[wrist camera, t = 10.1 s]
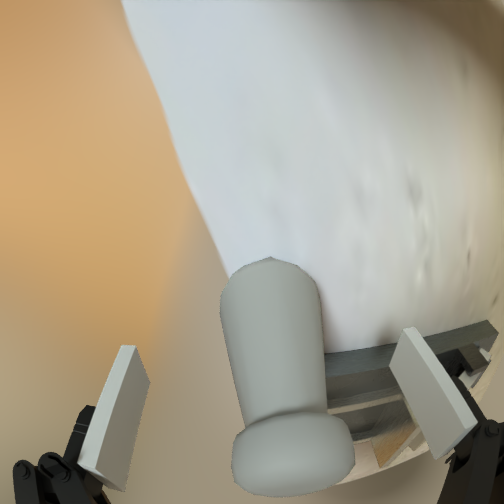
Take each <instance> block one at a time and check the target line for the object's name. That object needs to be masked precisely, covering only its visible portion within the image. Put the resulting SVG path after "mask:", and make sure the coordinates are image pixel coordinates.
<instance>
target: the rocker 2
mask: <svg viewBox="0 0 504 504" xmlns="http://www.w3.org/2000/svg"><path fill="white" fill-rule="evenodd" d="M480 352H481V353H482V355H483V356H484V357H485V359H486V360H487V361H488V363H490V362H491V360H490V357H491V356H492V355H491V354H489V353H488V352H487V351H485V350H484V349H482V348H481V349H480ZM484 371H485V370H484ZM484 371H482V372H480V373H478V374H475V375H473V376H471V377H470V376H469V374H468V373H467V371H466V370H464V372H463V373H462V374H461V375H460V377H459V379H460V380H461V381H462V382H463V383H464V385H465V386H466V388H467V391H468V390H469V389H470V388H473V387H474V386H475V385H476V383H477V382H478V380H479V379H480V377H481V376H482V374H483V373H484Z"/></svg>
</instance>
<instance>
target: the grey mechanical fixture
mask: <svg viewBox="0 0 504 504" xmlns="http://www.w3.org/2000/svg"><path fill="white" fill-rule="evenodd" d="M498 334H499V333H498V331H497V330H496V329H495V328H494V327H493V326H492V325H491V324H490V323H489V321H488V320H485V321H482V322H479V323H476V324H472V325H469V326H465V327H462V328H458V329H455V330H451V331H447V332H443V333H439V334H435V335H431V336H427V337H423V339H424V340H425V342H426V343H427V345H428V346H429V347H430V349H431V350H432V352H433V353H434V354H435V356H436V357H437V359H438V360H439V362H440V363H441V365H442V366H443V368H444V369H445V371H446V372H447V373H448V375H449V377H452V376H456V377H457V378H459V377H460V375H461V374H462V373H463V372H464V370H466V371H467V373H468V374H469V376H470V377H471V376H473V375H475V374H478V373H480V372H482V371H484V370H486V368H487V367H488V365H489V363H488V361H487V360H486V359H485V357H484V356H483V355H482V353H481V352H480V349H481V348H482V349H484V350H485V351H487V352H489V350H490V349H491V347H492V345H493V343H494V341H495V340H496V338H497V336H498ZM397 344H398V343H394V344H389V345H383V346H378V347H372V348H366V349H359V350H353V351H346V352H338V353H330V354H324V361H325V381H326V395H327V412H328V414H330V415H333V416H335V417H338V418H340V419H342V420H343V421H344V422H345V423H346V425H347V426H348V429H349V431H350V434H351V437H352V440H353V444H354V445H355V444H359V443H363V442H367V441H371V442H372V445H373V448H374V452H375V455H376V458H377V461H378V464H379V467H380V468H383V467H386V466H388V465H389V464H390V463H391V462H392V461H393V460H394V459H395V458H396V457H397V456H398V455H399V454H400V453H401V452H402V451H403V450H404V449H405V448H406V447H407V446H408V445H409V444H410V442H411V441H412V440H413V439H414V438H415V437H416V436H417V434H418V433H419V432H420V431H421V428H420V426H419V424H418V422H417V420H416V418H415V416H414V414H413V412H412V410H411V408H410V406H409V404H408V402H407V400H406V398H405V396H404V394H403V392H402V390H401V388H400V386H399V384H398V382H397V380H396V378H395V376H394V375H393V373H392V371H391V369H390V367H389V364H390V362H391V359H392V357H393V354H394V352H395V349H396V346H397Z"/></svg>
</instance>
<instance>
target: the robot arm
mask: <svg viewBox="0 0 504 504" xmlns="http://www.w3.org/2000/svg"><path fill="white" fill-rule="evenodd" d="M389 367H390V369H391V371H392V373H393V375H394V376H395V378H396V380H397V382H398V384H399V386H400V388H401V390H402V392H403V394H404V396H405V398H406V400H407V402H408V404H409V406H410V408H411V410H412V412H413V414H414V416H415V418H416V420H417V422H418V424H419V426H420V428H421V431H422V433H423V435H424V437H425V439H426V441H427V444H428V446H429V448H430V450H431V452H432V455H433V457H434V459H435V460H436V459H438V458H440V457H442V456H444V455H446V454H448V453H449V452H450V451H451V450H452V449H453V448H454V450H455V452H454V453H453V454H452V455H451V456H450V457H449V458H448V459H447V460H446V462H445V463H448V462H449V461H450V460H451V459H452V460H451V462H450V467H449V470H448V474H447V477H446V480H445V483H444V486H443V489H442V491H441V494H440V497H439V500H438V502H437V504H504V422H502V423H497V422H496V421H494V420H487V419H486V418H485V416H484V415H483V413H482V411H481V410H480V408H479V407H478V405H477V403H476V402H475V400H474V398H473V397H471V394H470V392H469V391H467V388H466V386H465V385H464V383H463V382H462V381H461V380H460V379H459V378H457V377H456V376H452V377H449V375H448V373H447V372H446V371H445V369H444V368H443V366H442V365H441V363H440V362H439V360H438V359H437V357H436V356H435V354H434V353H433V352H432V350H431V349H430V347H429V346H428V345H427V343H426V342H425V340H424V339H423V338H422V336H421V335H420V334H419V332H418V331H417V329H416V328H415V327H410V328H405V329H403V330H402V333H401V336H400V338H399V341H398V344H397V346H396V349H395V352H394V354H393V357H392V359H391V362H390V364H389ZM149 385H150V381H149V378H148V376H147V374H146V371H145V369H144V366H143V364H142V361H141V358H140V356H139V353H138V350H137V348H136V346H131V345H122V346H121V348H120V350H119V353H118V355H117V357H116V359H115V362H114V364H113V366H112V369H111V371H110V374H109V376H108V379H107V381H106V383H105V386H104V389H103V391H102V394H101V396H100V399H99V401H98V404H97V406H96V407H94V406H89V405H86V407H85V408H84V409H83V410H82V411H81V412H80V413H79V416H78V418H77V421H76V424H75V426H74V429H73V432H72V434H71V437H70V439H69V442H68V445H67V448H66V451H65V454H64V456H63V458H62V457H61V456H60V455H58V454H57V453H54V452H48V453H45V454H43V455H42V456H41V457H40V459H39V462H38V466H34V465H32V464H31V463H30V462H28V461H26V460H20V461H18V462H17V463H15V465H14V467H13V482H14V492H15V500H16V504H111V503H110V501H109V500H108V498H107V496H106V494H105V493H104V491H103V490H102V486H103V484H104V485H105V486H106V487H108V488H110V489H114V490H118V491H122V492H125V489H126V484H127V478H128V473H129V468H130V464H131V459H132V454H133V450H134V445H135V441H136V437H137V432H138V428H139V424H140V420H141V416H142V411H143V408H144V404H145V400H146V396H147V393H148V389H149Z"/></svg>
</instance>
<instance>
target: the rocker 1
mask: <svg viewBox="0 0 504 504" xmlns="http://www.w3.org/2000/svg"><path fill="white" fill-rule="evenodd" d="M425 441H426V439H425V437H424V435H423V433H422V431H420V432H419V433H418V434H417V436H416V437H415V438H414V439H413V440H412V441H411V442H410V444H409V445H408V446H409V447H410V448H411V449H412V450H413V451H415V450H416V449H417V448H418V447H419V446H421V445H422V444H423V443H424V442H425Z"/></svg>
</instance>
